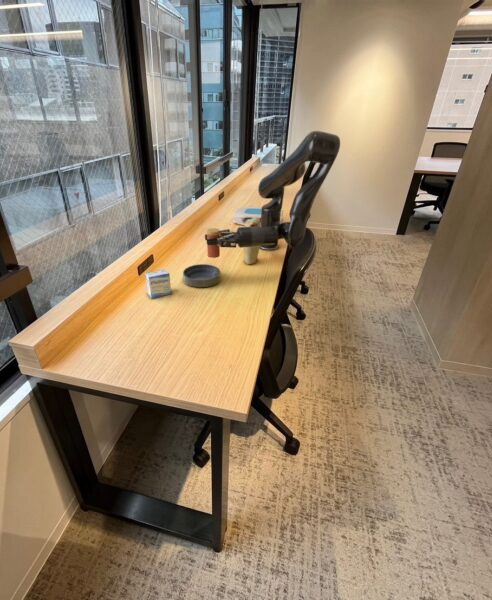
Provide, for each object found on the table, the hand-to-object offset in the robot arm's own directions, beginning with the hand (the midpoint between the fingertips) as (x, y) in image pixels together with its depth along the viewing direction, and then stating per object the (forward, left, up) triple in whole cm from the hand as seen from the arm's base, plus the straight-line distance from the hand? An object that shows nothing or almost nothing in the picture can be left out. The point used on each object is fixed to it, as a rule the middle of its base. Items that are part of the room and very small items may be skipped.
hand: (206, 239), depth 122 cm
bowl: (-3, -2, -18) cm, 18 cm away
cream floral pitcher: (-17, +22, -18) cm, 33 cm away
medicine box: (+6, -19, -18) cm, 27 cm away
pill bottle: (0, +3, -6) cm, 7 cm away
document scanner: (-76, +42, -18) cm, 89 cm away
